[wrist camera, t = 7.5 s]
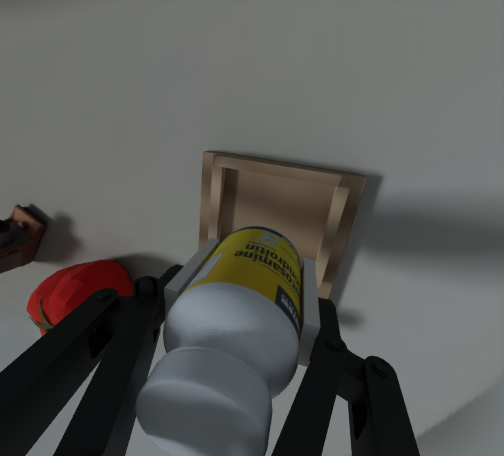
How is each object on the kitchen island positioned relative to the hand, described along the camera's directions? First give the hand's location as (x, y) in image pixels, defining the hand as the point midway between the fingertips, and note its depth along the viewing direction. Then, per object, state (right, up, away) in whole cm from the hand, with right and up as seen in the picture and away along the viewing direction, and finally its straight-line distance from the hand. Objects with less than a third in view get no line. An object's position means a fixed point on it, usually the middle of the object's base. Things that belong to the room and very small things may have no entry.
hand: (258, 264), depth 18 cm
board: (+1, 0, +10) cm, 10 cm away
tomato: (-21, -5, +18) cm, 28 cm away
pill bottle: (0, 0, +1) cm, 1 cm away
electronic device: (-34, +2, +17) cm, 38 cm away
